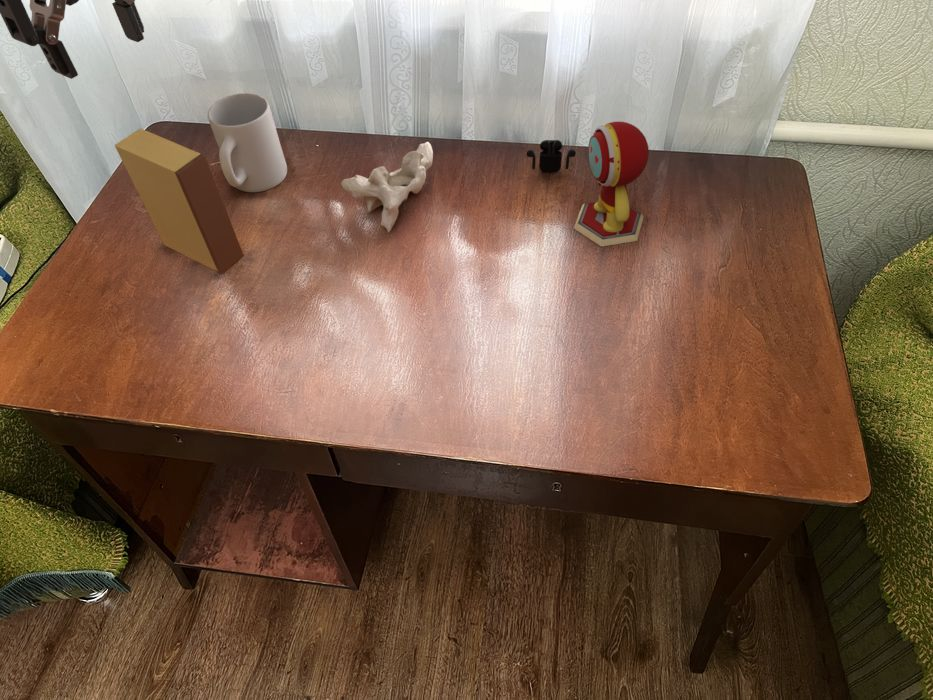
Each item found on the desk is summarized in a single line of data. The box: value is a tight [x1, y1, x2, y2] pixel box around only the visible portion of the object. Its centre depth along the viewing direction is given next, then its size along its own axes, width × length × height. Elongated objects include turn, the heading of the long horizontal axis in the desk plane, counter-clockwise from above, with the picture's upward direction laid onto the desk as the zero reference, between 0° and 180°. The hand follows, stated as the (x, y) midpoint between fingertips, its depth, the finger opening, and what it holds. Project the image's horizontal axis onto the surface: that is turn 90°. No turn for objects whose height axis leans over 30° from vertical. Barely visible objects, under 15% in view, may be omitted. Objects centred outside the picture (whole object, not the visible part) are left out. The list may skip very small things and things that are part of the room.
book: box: [114, 128, 245, 275], centre depth 88 cm, size 16×4×11 cm
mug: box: [207, 92, 288, 193], centre depth 99 cm, size 12×8×11 cm
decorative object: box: [340, 141, 434, 234], centre depth 96 cm, size 9×14×8 cm, turn 140°
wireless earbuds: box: [526, 139, 577, 172], centre depth 101 cm, size 7×2×5 cm, turn 88°
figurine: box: [573, 120, 650, 247], centre depth 89 cm, size 9×10×15 cm
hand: (104, 56), depth 73 cm, fingers open, 8 cm apart
